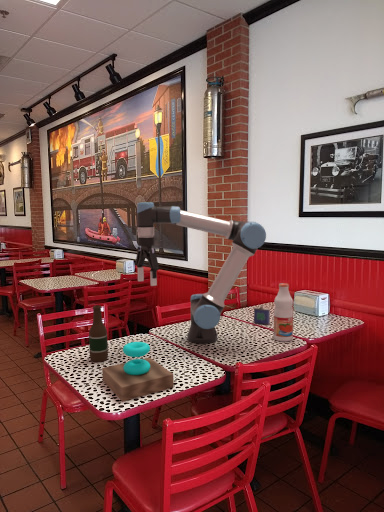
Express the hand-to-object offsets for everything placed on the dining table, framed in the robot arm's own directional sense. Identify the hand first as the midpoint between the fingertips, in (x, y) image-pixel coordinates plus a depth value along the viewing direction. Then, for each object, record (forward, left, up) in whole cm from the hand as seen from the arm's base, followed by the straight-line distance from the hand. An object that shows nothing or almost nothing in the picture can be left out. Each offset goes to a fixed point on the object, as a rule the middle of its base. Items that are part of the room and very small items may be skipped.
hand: (147, 283), depth 179 cm
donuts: (+19, +30, -27) cm, 45 cm away
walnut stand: (+19, +30, -32) cm, 48 cm away
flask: (-73, -4, -32) cm, 80 cm away
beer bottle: (+23, -2, -32) cm, 39 cm away
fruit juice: (-64, +22, -32) cm, 75 cm away
